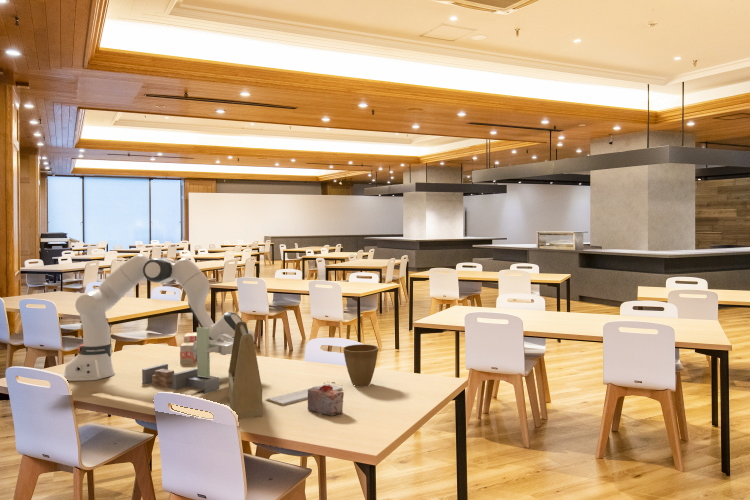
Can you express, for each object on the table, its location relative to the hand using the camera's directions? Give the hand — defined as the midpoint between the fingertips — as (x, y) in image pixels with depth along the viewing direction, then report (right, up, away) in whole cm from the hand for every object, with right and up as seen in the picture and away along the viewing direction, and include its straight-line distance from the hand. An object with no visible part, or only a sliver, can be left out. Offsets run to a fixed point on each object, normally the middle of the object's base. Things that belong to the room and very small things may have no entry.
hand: (201, 349), depth 247 cm
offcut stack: (-17, -15, +4) cm, 23 cm away
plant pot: (+65, -17, +10) cm, 68 cm away
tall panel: (+1, -11, +1) cm, 11 cm away
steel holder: (0, -17, +1) cm, 17 cm away
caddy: (+22, -18, -21) cm, 36 cm away
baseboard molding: (+43, -18, -5) cm, 47 cm away
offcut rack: (-15, -17, +6) cm, 23 cm away
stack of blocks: (-23, -15, +60) cm, 66 cm away
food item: (+53, -18, -28) cm, 63 cm away
